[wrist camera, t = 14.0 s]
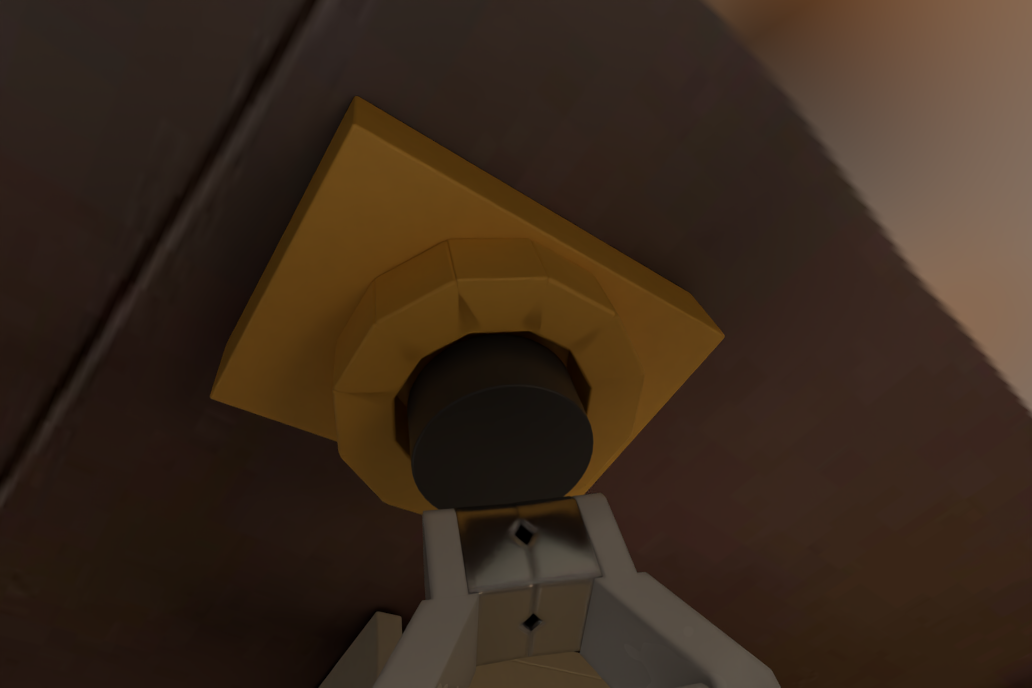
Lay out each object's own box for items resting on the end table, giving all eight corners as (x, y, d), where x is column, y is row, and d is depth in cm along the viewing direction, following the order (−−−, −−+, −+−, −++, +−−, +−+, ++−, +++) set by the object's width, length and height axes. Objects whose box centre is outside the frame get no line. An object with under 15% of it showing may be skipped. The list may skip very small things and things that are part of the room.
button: (376, 434, 14) (377, 494, 13) (463, 305, 13) (475, 356, 11) (513, 482, 16) (527, 540, 14) (604, 373, 14) (630, 425, 13)
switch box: (225, 344, 16) (190, 454, 13) (355, 93, 14) (350, 153, 10) (546, 465, 21) (579, 571, 17) (691, 293, 18) (762, 379, 15)
